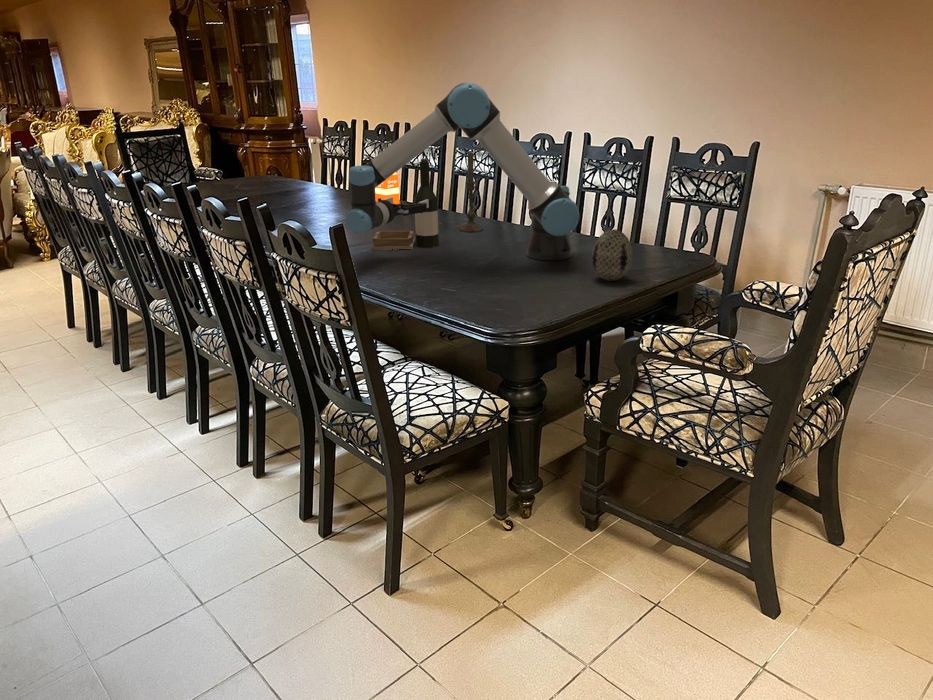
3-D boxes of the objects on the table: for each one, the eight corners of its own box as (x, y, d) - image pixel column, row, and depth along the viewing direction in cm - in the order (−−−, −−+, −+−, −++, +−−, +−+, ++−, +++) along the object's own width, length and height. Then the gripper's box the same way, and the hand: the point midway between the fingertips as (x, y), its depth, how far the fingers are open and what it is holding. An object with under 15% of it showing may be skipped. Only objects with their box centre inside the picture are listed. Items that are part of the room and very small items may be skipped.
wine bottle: (435, 248, 244) (433, 160, 233) (413, 247, 246) (409, 160, 234) (441, 242, 251) (438, 157, 240) (419, 241, 253) (415, 157, 242)
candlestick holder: (456, 231, 268) (454, 151, 257) (464, 226, 276) (463, 149, 265) (478, 233, 265) (477, 152, 253) (486, 228, 273) (486, 149, 261)
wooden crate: (412, 249, 242) (411, 239, 241) (372, 250, 242) (371, 239, 241) (415, 240, 255) (414, 230, 254) (377, 240, 255) (376, 230, 254)
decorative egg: (582, 277, 207) (585, 227, 202) (616, 272, 211) (619, 224, 206) (604, 287, 197) (607, 236, 192) (638, 283, 201) (642, 232, 196)
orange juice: (388, 203, 325) (386, 160, 318) (400, 206, 319) (397, 161, 312) (375, 206, 321) (372, 161, 313) (386, 208, 315) (383, 163, 307)
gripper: (346, 222, 225) (378, 210, 244) (415, 228, 217) (443, 215, 235) (345, 199, 223) (377, 189, 241) (414, 204, 214) (442, 193, 232)
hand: (409, 202), depth 238 cm, fingers open, 13 cm apart
